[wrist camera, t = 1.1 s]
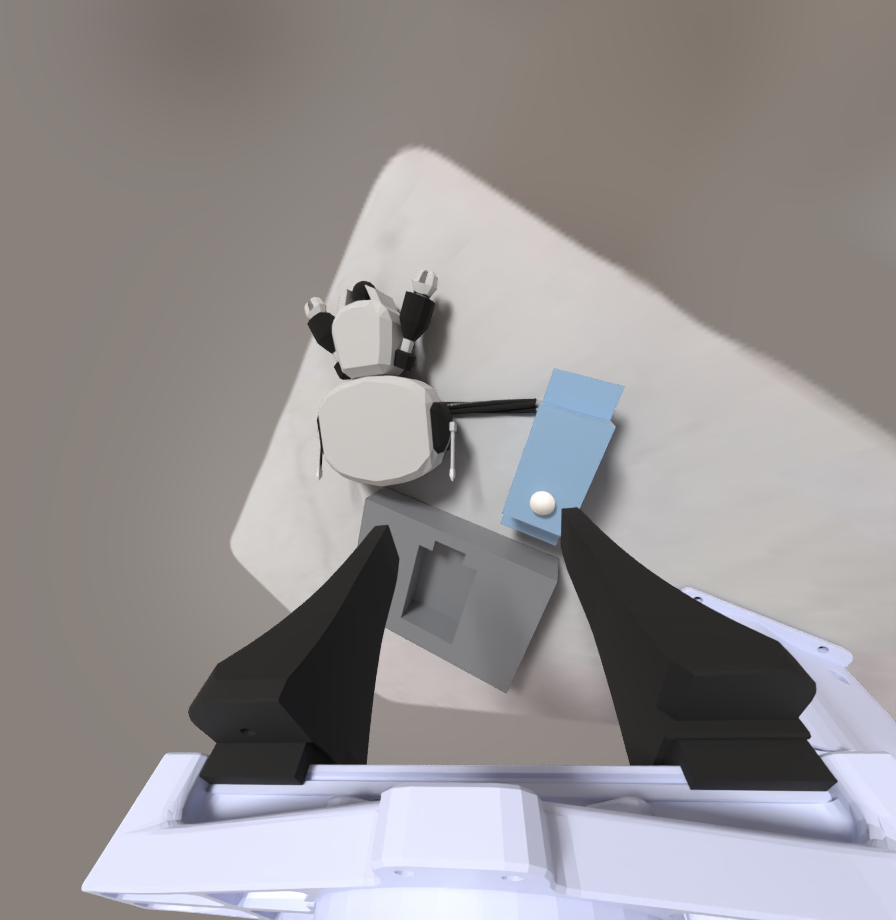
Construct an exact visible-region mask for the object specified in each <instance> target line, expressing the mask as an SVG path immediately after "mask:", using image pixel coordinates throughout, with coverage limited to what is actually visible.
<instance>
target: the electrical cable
mask: <svg viewBox="0 0 896 920" xmlns="http://www.w3.org/2000/svg"><path fill="white" fill-rule="evenodd" d="M542 401H543V400H536V399H514V400H510V399H508V400H491V401H477V402H476V401H475V402H443V403H447V406H448V408H449V411H450V413H451V414H463V413H536V411H538V408H539V407H536V405H540V404H541V403H542Z"/></svg>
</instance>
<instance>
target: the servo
mask: <svg viewBox="0 0 896 920" xmlns="http://www.w3.org/2000/svg"><path fill="white" fill-rule="evenodd" d="M624 388H625V386H621V385H617V384H613V383H609V382H605V381H602V380H598V379H594V378H590V377H586V376H582V375H578V374H574V373H571V372H567V371H563V370H559V369H555V368H554V370H553V373H552V376H551V379H550V382H549V385H548V388H547V391H546V393H545V396H544V399H543V401H542V403H541V404H540V405H539V408H538V411H537V414H536V416H535V419H534V422H533V425H532V428H531V431H530V434H529V437H528V440H527V443H526V445H525V448H524V451H523V454H522V457H521V460H520V463H519V466H518V469H517V471H516V474H515V477H514V480H513V483H512V486H511V489H510V492H509V495H508V497H507V500H506V503H505V506H504V509H503V512H502V514H503V517H502V520H501V523H500V524H503V525H505V526H508V527H510V528H513V529H515V530H518V531H520V532H522V533H525V534H527V535H530V536H532V537H535V538H537V539H540V540H542V541H545V542H547V543H550V544H552V545H555V546H556V545H557V542H558V540H559V538H560V536H561V509H562V508H573V507H578V508H579V509H580V507H581V504H582V502H583V500H584V498H585V495H586V493H587V491H588V489H589V486H590V484H591V482H592V480H593V477H594V475H595V473H596V471H597V468H598V466H599V464H600V462H601V459H602V457H603V455H604V452H605V450H606V448H607V446H608V443H609V441H610V439H611V437H612V434H613V432H614V430H615V428H616V426H615V425H614V424H613V423H612V422H611V421H610V420H611V418H612V415H613V413H614V411H615V408H616V406H617V404H618V401H619V399H620V397H621V395H622V392H623V390H624Z"/></svg>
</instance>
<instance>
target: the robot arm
mask: <svg viewBox="0 0 896 920" xmlns="http://www.w3.org/2000/svg"><path fill="white" fill-rule="evenodd" d="M561 549H562V553H563V556H564V560H565V563H566V567H567V570H568V573H569V575H570V578H571V580H572V583H573V585H574V588H575V590H576V592H577V595H578V597H579V600H580V602H581V604H582V607H583V609H584V612H585V614H586V617H587V619H588V621H589V624H590V627H591V630H592V632H593V635H594V638H595V642H596V645H597V648H598V651H599V655H600V658H601V661H602V665H603V668H604V671H605V675H606V678H607V682H608V685H609V689H610V692H611V696H612V699H613V703H614V707H615V710H616V714H617V717H618V721H619V725H620V728H621V732H622V736H623V740H624V744H625V748H626V752H627V755H628V759H629V763H630V766H587V765H585V766H583V765H582V766H580V765H578V766H577V765H561V766H560V765H558V766H557V765H552V766H551V765H367V754H368V742H369V733H370V723H371V714H372V706H373V697H374V690H375V682H376V675H377V668H378V662H379V655H380V649H381V643H382V638H383V634H384V630H385V626H386V622H387V618H388V614H389V610H390V607H391V603H392V599H393V595H394V591H395V587H396V583H397V577H398V569H399V560H400V558H399V555H398V552H397V549H396V546H395V543H394V540H393V537H392V534H391V531H390V528H389V525H379V526H374V528H373V529H372V530H371V531H370V532H369V533H368V535H367V536H366V537H365V538H364V540H363V541H362V542H361V543H360V544H359V546H358V547H357V548H356V549H355V550H354V552H353V553H352V554H351V555H350V556H349V558H348V559H347V560H346V561H345V562H344V563H343V564H342V566H341V567H340V568H339V569H338V570H337V571H336V572H335V573H334V574H333V575H332V576H331V577H330V578H329V580H328V581H327V582H326V583H325V584H324V585H323V586H322V587H321V588H319V589H318V590H317V591H316V592H315V593H314V594H313V595H312V596H311V597H310V598H309V599H308V600H306V601H305V602H304V603H303V604H302V605H301V606H299V607H298V608H297V609H296V610H294V611H293V612H292V613H291V614H290V615H288V616H287V617H286V618H285V619H284V620H282V621H281V622H280V623H279V624H277V625H276V626H274V627H273V628H272V629H270V630H269V631H268V632H266V633H265V634H263V635H262V636H260V637H259V638H257V639H256V640H255V641H253V642H252V643H250V644H249V645H247V646H245V647H244V648H243V649H241V650H239V651H238V652H236V653H234V654H233V655H231V656H230V657H228V658H227V659H225V660H223V661H222V662H220V663H218V664H217V666H216V667H215V669H214V670H213V672H212V673H211V675H210V676H209V678H208V680H207V681H206V682H205V684H204V686H203V687H202V689H201V690H200V692H199V693H198V695H197V696H196V698H195V699H194V701H193V702H192V704H191V706H190V708H189V711H188V713H189V717H190V719H191V721H192V722H193V723H194V724H195V725H196V726H197V727H198V728H199V729H200V730H202V731H203V732H204V733H205V734H207V735H208V736H209V737H210V738H211V739H213V740H214V741H215V742H216V745H215V747H214V749H213V751H212V753H211V755H208V754H204V753H197V752H194V753H193V752H173V753H172V752H169V753H167V754H165V755H164V757H163V759H162V760H161V762H160V763H159V765H158V766H157V768H156V770H155V771H154V773H153V774H152V776H151V778H150V779H149V781H148V782H147V784H146V786H145V787H144V789H143V790H142V792H141V793H140V795H139V796H138V798H137V800H136V801H135V803H134V804H133V806H132V808H131V809H130V811H129V812H128V814H127V816H126V817H125V818H124V820H123V822H122V823H121V825H120V826H119V828H118V830H117V831H116V833H115V834H114V836H113V837H112V839H111V841H110V842H109V844H108V845H107V847H106V849H105V850H104V852H103V853H102V855H101V856H100V858H99V860H98V861H97V863H96V864H95V866H94V867H93V869H92V871H91V872H90V874H89V875H88V877H87V878H86V880H85V882H84V883H83V885H82V891H84V892H87V893H91V894H95V895H98V896H102V897H106V898H109V899H113V900H116V901H120V902H124V903H127V904H131V905H134V906H138V907H141V908H145V909H154V910H167V911H168V910H169V911H181V912H192V913H202V914H213V915H223V916H232V917H241V918H250V919H259V920H896V722H895V721H894V719H893V718H892V717H891V716H890V715H889V714H888V713H887V712H886V711H885V710H884V709H883V708H882V707H881V706H880V704H879V703H878V702H877V701H876V700H875V699H874V698H873V697H872V696H871V695H870V694H869V693H868V692H867V691H866V690H865V688H864V687H863V686H862V685H861V684H860V683H859V682H858V681H857V680H856V679H855V678H854V677H853V676H852V675H851V673H850V672H849V671H848V670H847V669H846V667H847V666H848V665H849V664H850V663H851V662H852V660H853V655H852V654H851V653H850V652H849V651H848V650H847V649H845V648H843V647H841V646H838V645H835V644H833V643H830V642H828V641H825V640H823V639H820V638H818V637H815V636H813V635H810V634H808V633H805V632H802V631H800V630H797V629H795V628H792V627H790V626H787V625H785V624H782V623H780V622H777V621H774V620H772V619H769V618H767V617H764V616H762V615H759V614H757V613H754V612H752V611H749V610H747V609H744V608H741V607H739V606H736V605H734V604H731V603H729V602H726V601H724V600H721V599H719V598H716V597H714V596H711V595H708V594H706V593H703V592H701V591H698V590H696V589H693V588H690V587H685V588H683V589H681V590H679V589H677V588H675V587H674V586H672V585H671V584H669V583H667V582H666V581H664V580H663V579H661V578H660V577H658V576H657V575H656V574H654V573H653V572H651V571H650V570H648V569H647V568H646V567H644V566H643V565H642V564H640V563H639V562H638V561H636V560H635V559H634V558H633V557H631V556H630V555H629V554H628V553H626V552H625V551H624V550H623V549H622V548H620V547H619V546H618V545H617V544H616V543H615V542H614V541H613V540H611V539H610V538H609V537H608V536H607V535H606V534H605V533H604V532H603V531H601V530H600V529H599V528H598V527H597V526H596V525H595V524H594V523H593V522H592V521H591V520H590V519H589V518H588V517H587V516H586V515H585V514H584V513H583V512H582V511H581V510H580V509H579V508H578V507H573V508H562V509H561ZM695 597H701V598H700V599H698V600H695V599H694V598H695ZM821 646H824V647H823V648H820V649H818V647H821Z"/></svg>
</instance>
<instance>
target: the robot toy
mask: <svg viewBox="0 0 896 920" xmlns="http://www.w3.org/2000/svg"><path fill="white" fill-rule="evenodd" d="M427 273H428V272H427V271H426V270H424V269H420V270H418V271H417V272H416V274H415V276H414V278H413V280H412V281H413V290H414V293H412V292H407V291H406V294H405V298H404V301H403V305H402V309H401V313H400V314H399V313H398V311H397V309H396V306H395V304H394V302H393V299H392V298H391V297H389V296H387V295H385V294H384V293H382V292H380V291H378V290H377V289H376V288H375V286H374V285H372V284H371V283H370V282H367V281H361V282H358V283H357V284H356V285H355V286H354V288H353V291H350V290H348V289H347V290H346V291H345V292H344V293H343V294H342V295H341V296H340V297H339V304H338V310H337V315H336V317H334V316H333V315H331V314H330V313H327V312H326V305H325V304H324V303H323V302H322V300H321V299H320V298H317V297H313V298H312V299H311V301H312V303H309V302H308V303H307V304H306V305H305V312H306V315H307V317H308V318H309V319H310V320H309V322H308V326H309V328H310V330H311V332H312V334H313V336H314V337H315V339H316V341H317V343H318V344H319V345H321V346H322V347H323V348H325V349H326V350H327V351H329V352H330V353H332V354H333V355H334V357H335V359H336V361H337V363H336V364H335V366H334V368H335V370H336V372H337V374H338V376H339V378H340V379H343V380H347V379H351V378H355V379H353V380H350V381H348V382H345V383H343V384H341V385H339V386H337V387H335V388H334V389H333V390H331V391H330V392H329V393H328V394H327V396H326V397H325V398H324V399H323V401H322V404H321V407H320V409H319V412H318V418H317V424H318V431H317V438H319V447H318V467H317V470H316V477H317V478H318V480H320V479H321V477H322V453H323V454H324V458H325V459H326V460H327V462H328V463H329V464H330V466H331V467H332V468H333V469H334V470H335V471H336V472H338V473H339V474H340V475H341V476H343V477H345V478H347V479H350V480H353V481H356V482H360V483H365V484H370V485H376V486H387V485H393V484H399V483H405V482H408V481H411V480H414V479H417V478H419V477H421V476H423V475H425V474H427V473H429V472H431V471H432V470H434V469H435V468H436V467H437V466H438V465H440V464H441V463H442V460H443V456H444V453H445V451H447V450H449V449H450V448H451V469H450V478H451V480H452V482H453V480H454V478H455V432H457V423H456V422H453V421H452V415H451V413H450V411H449V408H448V406H447V403H443V402H441V401H440V399H439V396H438V394H437V392H436V390H435V389H434V388H432V387H431V386H429V385H427V384H426V383H424V382H422V381H419V380H415V379H410V378H405V377H397V376H399V375H400V374H401V373H402V372H403V371H404V370H408V371H412V368H413V365H414V361H415V358H416V357H415V356H414V354H411V353H412V349H413V346H414V342H415V341H416V340H417V339H418V338H419V337H420V336H421V335H422V334H423V333H424V332H425V331H426V330H427V329H428V326H429V323H430V319H431V316H432V313H433V309H434V306H435V303H434V302H433V301H431V300H430V299H429V298H430V297H431V296H432V295H433V293H434V292H435V291H436V290H437V280H438V278H437V276H436V274H435V273H434V272H431V271H429V273H428V276H427ZM426 277H427V279H426ZM425 281H426V282H425Z"/></svg>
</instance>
